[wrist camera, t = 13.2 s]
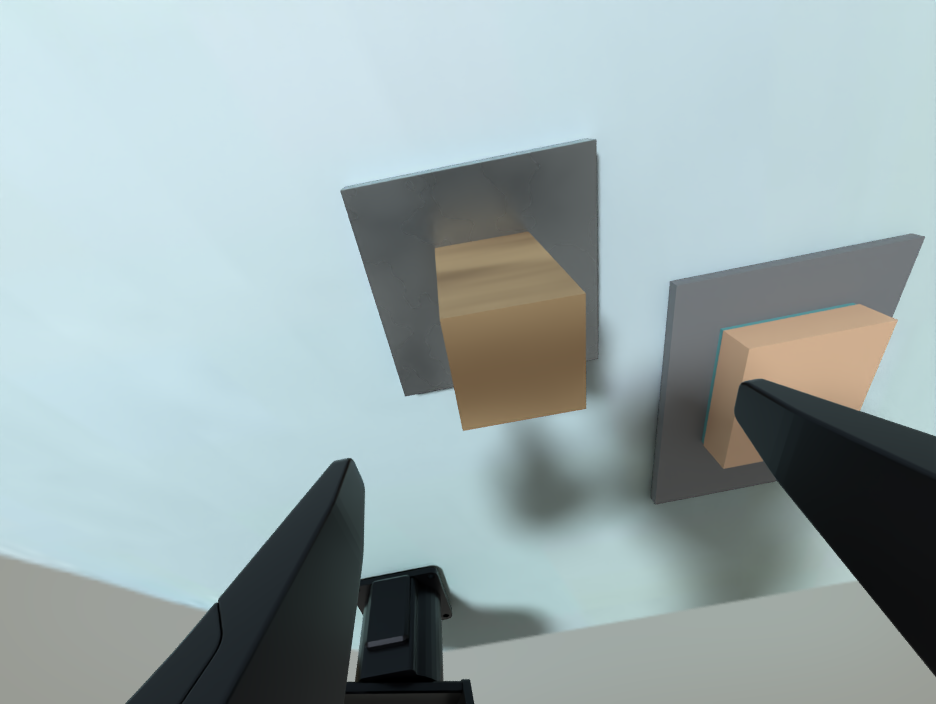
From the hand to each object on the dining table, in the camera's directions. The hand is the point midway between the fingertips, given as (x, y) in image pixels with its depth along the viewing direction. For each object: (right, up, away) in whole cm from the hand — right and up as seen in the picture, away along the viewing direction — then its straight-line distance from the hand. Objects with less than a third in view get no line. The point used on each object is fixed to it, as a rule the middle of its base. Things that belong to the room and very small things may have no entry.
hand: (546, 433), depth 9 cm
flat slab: (+16, -4, +14) cm, 22 cm away
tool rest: (-1, +5, +10) cm, 11 cm away
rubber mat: (+15, 0, +14) cm, 21 cm away
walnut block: (-1, +5, +9) cm, 10 cm away
